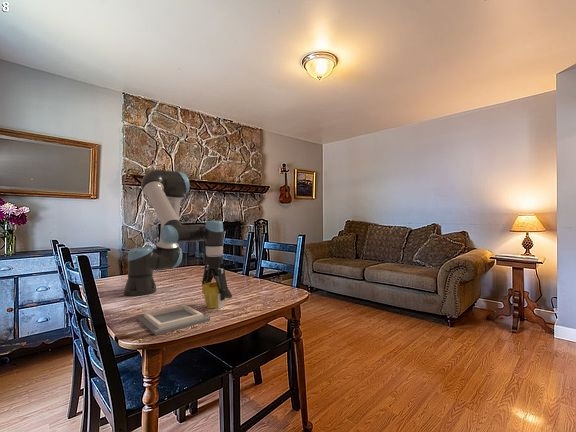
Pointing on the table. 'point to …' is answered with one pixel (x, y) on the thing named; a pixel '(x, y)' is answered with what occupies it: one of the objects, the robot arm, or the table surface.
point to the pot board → (172, 319)
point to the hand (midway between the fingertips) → (214, 304)
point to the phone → (228, 294)
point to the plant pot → (210, 294)
